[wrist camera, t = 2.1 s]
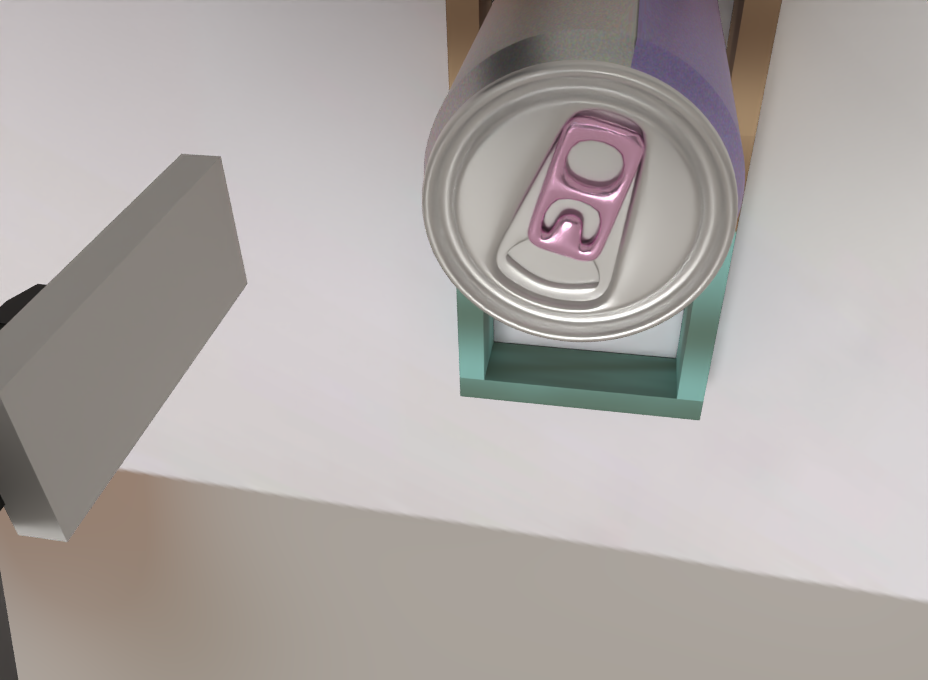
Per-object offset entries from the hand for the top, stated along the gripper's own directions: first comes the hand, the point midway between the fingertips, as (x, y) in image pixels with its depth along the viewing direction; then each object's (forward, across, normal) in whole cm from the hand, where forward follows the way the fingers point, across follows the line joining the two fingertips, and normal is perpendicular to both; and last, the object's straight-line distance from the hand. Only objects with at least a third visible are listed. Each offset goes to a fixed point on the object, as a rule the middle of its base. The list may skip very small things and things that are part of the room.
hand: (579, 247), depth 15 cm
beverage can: (+16, 0, 0) cm, 16 cm away
